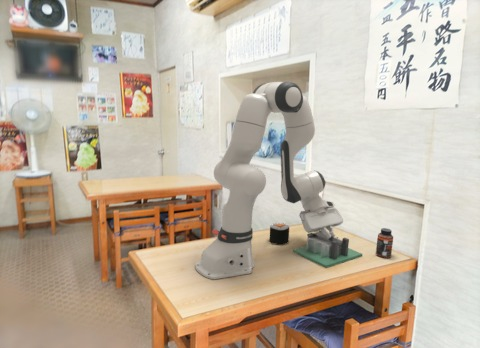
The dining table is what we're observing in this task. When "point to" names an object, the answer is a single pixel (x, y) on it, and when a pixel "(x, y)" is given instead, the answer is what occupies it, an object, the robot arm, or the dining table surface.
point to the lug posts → (335, 248)
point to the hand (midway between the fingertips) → (331, 237)
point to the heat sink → (320, 246)
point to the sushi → (279, 233)
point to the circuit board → (326, 261)
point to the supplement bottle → (384, 243)
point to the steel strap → (324, 237)
